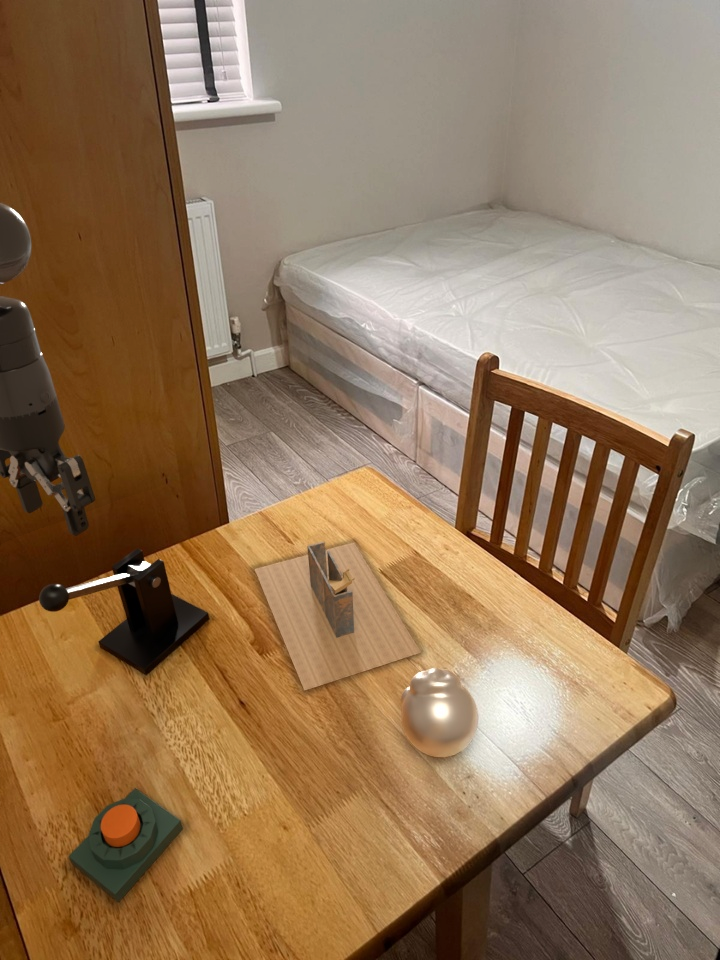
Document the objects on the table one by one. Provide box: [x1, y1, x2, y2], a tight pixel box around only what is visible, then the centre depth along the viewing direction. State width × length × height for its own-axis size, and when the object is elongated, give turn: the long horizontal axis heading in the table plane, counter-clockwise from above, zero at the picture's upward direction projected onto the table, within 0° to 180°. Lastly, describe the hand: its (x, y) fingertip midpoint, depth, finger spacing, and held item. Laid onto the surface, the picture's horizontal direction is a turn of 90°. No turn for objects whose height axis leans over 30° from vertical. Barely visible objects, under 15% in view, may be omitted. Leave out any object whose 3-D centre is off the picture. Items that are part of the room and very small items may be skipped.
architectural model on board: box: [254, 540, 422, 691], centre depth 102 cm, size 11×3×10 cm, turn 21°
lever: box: [38, 560, 152, 613], centre depth 90 cm, size 16×3×3 cm, turn 146°
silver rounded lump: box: [399, 667, 479, 758], centre depth 84 cm, size 9×10×10 cm
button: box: [101, 805, 140, 847], centre depth 74 cm, size 4×4×2 cm
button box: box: [68, 787, 184, 903], centre depth 76 cm, size 9×7×4 cm
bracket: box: [97, 547, 210, 677], centre depth 98 cm, size 12×9×13 cm
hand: (56, 520), depth 87 cm, fingers open, 8 cm apart
